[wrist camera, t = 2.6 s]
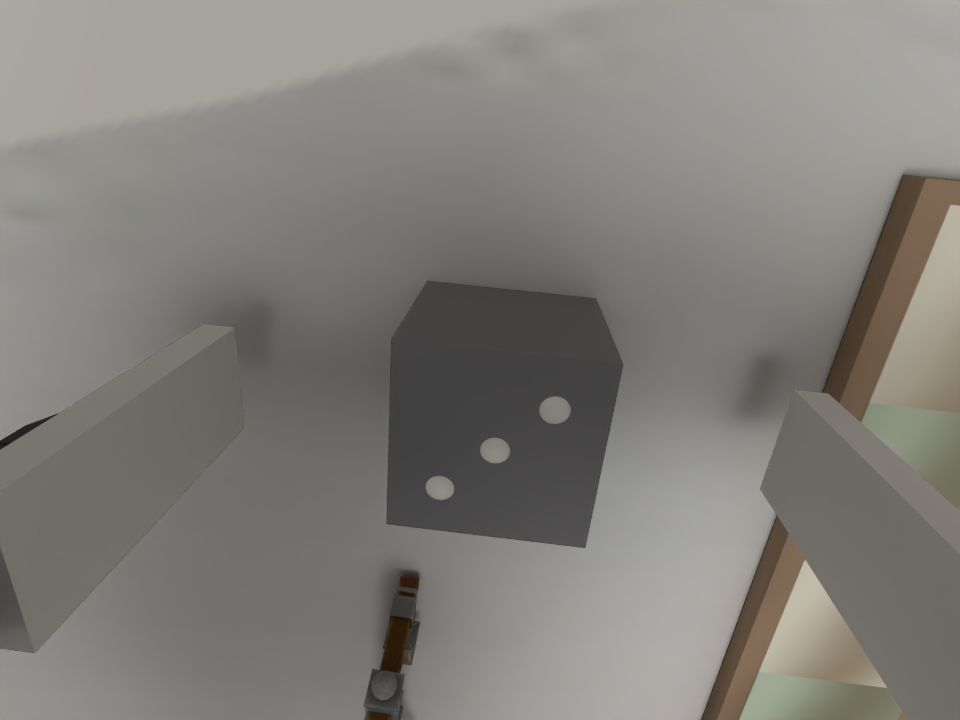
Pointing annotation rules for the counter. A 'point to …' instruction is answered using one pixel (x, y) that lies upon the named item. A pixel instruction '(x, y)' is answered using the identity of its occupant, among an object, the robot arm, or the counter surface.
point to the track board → (898, 424)
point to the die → (500, 413)
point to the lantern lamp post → (394, 655)
